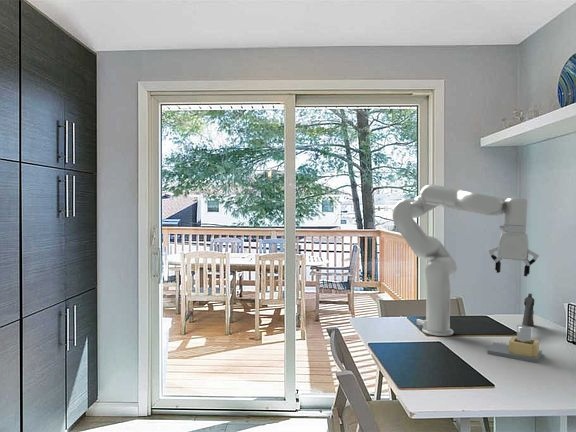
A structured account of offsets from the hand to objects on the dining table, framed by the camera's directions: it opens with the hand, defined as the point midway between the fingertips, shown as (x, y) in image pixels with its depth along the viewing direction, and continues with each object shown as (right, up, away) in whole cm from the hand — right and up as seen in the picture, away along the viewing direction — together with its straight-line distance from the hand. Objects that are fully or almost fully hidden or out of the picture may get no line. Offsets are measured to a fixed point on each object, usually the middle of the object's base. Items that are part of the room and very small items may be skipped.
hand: (511, 274), depth 172 cm
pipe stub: (-2, -26, -11) cm, 29 cm away
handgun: (+16, -28, +19) cm, 37 cm away
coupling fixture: (-4, -28, -10) cm, 30 cm away
